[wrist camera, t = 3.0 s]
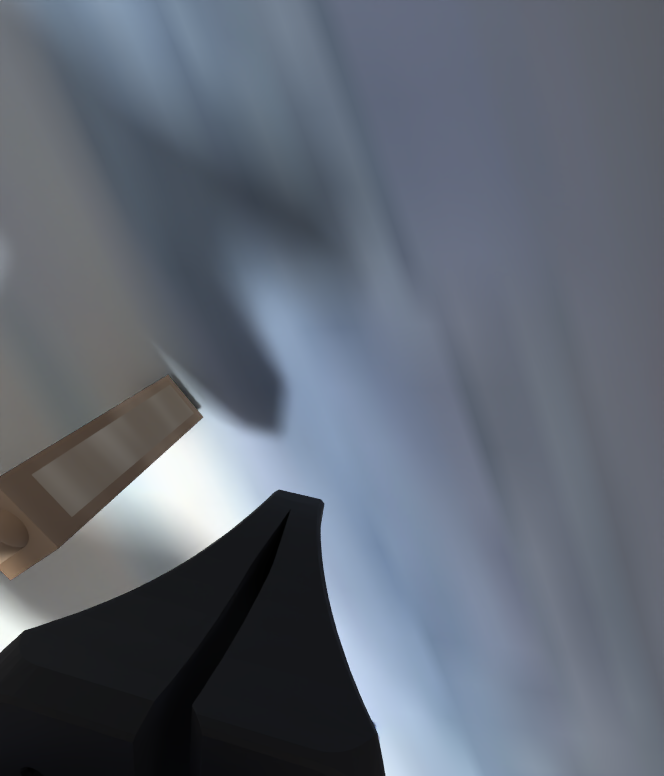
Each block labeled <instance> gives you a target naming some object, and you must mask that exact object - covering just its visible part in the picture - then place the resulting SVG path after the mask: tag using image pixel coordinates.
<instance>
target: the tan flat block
mask: <svg viewBox="0 0 664 776" xmlns="http://www.w3.org/2000/svg"><path fill="white" fill-rule="evenodd" d="M202 418H203V416H202V415H201V414H200V413H199V411H198V410H197V409H196V408H195V407H194V405H193V404H192V403H191V402H190V401H189V399H188V398H187V397H186V396H185V395H184V393H183V392H182V391H181V390H180V388H179V387H178V386H177V385H176V384H175V382H174V381H173V380H172V379H171V378H170V376H169V375H167V376H165V377H164V378H162V379H160V380H159V381H157V382H155V383H154V384H152V385H150V386H149V387H147V388H145V389H144V390H142V391H140V392H139V393H137V394H135V395H134V396H132V397H130V398H129V399H127V400H126V401H124V402H122V403H121V404H119V405H117V406H116V407H114V408H112V409H111V410H109V411H107V412H106V413H104V414H102V415H101V416H99V417H97V418H96V419H94V420H92V421H91V422H89V423H88V424H86V425H84V426H83V427H81V428H79V429H78V430H76V431H74V432H73V433H71V434H69V435H68V436H66V437H64V438H63V439H61V440H59V441H58V442H56V443H54V444H53V445H51V446H50V447H48V448H46V449H45V450H43V451H41V452H40V453H38V454H36V455H35V456H33V457H31V458H30V459H28V460H26V461H25V462H23V463H21V464H20V465H18V466H16V467H15V468H13V469H12V470H10V471H8V472H7V473H5V474H3V475H2V476H0V571H1V572H2V573H3V574H4V575H5V576H6V577H8V578H9V579H10V580H12V579H13V578H15V577H16V576H18V575H19V574H21V573H22V572H24V571H25V570H27V569H28V568H30V567H31V566H33V565H34V564H36V563H37V562H39V561H40V560H42V559H43V558H45V557H46V556H48V555H49V554H51V553H52V552H54V551H55V550H57V549H58V548H60V547H61V546H62V545H63V544H64V543H65V542H66V541H67V540H68V539H69V538H71V537H72V536H73V535H74V534H75V533H76V532H77V531H78V530H79V529H80V528H82V527H83V526H84V525H85V524H86V523H87V522H88V521H89V520H90V519H92V518H93V517H94V516H95V515H96V514H97V513H98V512H99V511H100V510H101V509H103V508H104V507H105V506H106V505H107V504H108V503H109V502H110V501H111V500H112V499H114V498H115V497H116V496H117V495H118V494H119V493H120V492H121V491H122V490H124V489H125V488H126V487H127V486H128V485H129V484H130V483H131V482H132V481H133V480H135V479H136V478H137V477H138V476H139V475H140V474H141V473H142V472H143V471H144V470H146V469H147V468H148V467H149V466H150V465H151V464H152V463H153V462H154V461H156V460H157V459H158V458H159V457H160V456H161V455H162V454H163V453H164V452H165V451H167V450H168V449H169V448H170V447H171V446H172V445H173V444H174V443H175V442H176V441H178V440H179V439H180V438H181V437H182V436H183V435H184V434H185V433H186V432H188V431H189V430H190V429H191V428H192V427H193V426H194V425H195V424H196V423H197V422H199V421H200V420H201V419H202Z"/></svg>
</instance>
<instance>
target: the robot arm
mask: <svg viewBox="0 0 664 776" xmlns="http://www.w3.org/2000/svg"><path fill="white" fill-rule="evenodd" d="M323 509H324V503H323V501H322V500H321V499H317V498H313V497H308V496H304V495H300V494H296V493H291V492H287V491H283V490H277V491H276V492H274V493H273V494H272V495H271V496H270V497H269V498H268V499H267V500H266V501H265V502H264V503H262V504H261V505H260V506H259V507H258V508H257V509H256V510H255V511H253V512H252V513H251V514H250V515H249V516H248V517H246V518H245V519H244V520H243V521H241V522H240V523H239V524H238V525H236V526H235V527H234V528H233V529H232V530H230V531H229V532H228V533H226V534H225V535H224V536H222V537H221V538H219V539H218V540H217V541H215V542H214V543H213V544H211V545H210V546H208V547H207V548H206V549H204V550H203V551H201V552H200V553H198V554H197V555H195V556H194V557H192V558H190V559H189V560H187V561H186V562H184V563H182V564H181V565H179V566H177V567H176V568H174V569H172V570H170V571H169V572H167V573H165V574H163V575H161V576H159V577H157V578H156V579H154V580H152V581H150V582H148V583H146V584H144V585H142V586H140V587H138V588H136V589H134V590H132V591H130V592H127V593H125V594H123V595H121V596H118V597H116V598H114V599H111V600H109V601H107V602H104V603H102V604H99V605H97V606H94V607H92V608H89V609H87V610H84V611H81V612H79V613H76V614H73V615H70V616H67V617H64V618H61V619H58V620H55V621H52V622H49V623H46V624H43V625H40V626H38V627H34V628H31V629H28V630H25V631H23V632H22V633H21V634H20V635H19V636H18V637H17V638H16V639H15V640H14V641H12V642H11V643H10V644H9V645H8V646H7V647H6V648H5V649H4V650H3V651H2V652H1V653H0V776H385V771H384V764H383V759H382V754H381V748H380V743H379V736H378V733H377V731H376V729H375V727H374V725H373V722H372V720H371V718H370V716H369V714H368V712H367V710H366V707H365V705H364V703H363V700H362V698H361V696H360V694H359V691H358V689H357V686H356V684H355V681H354V679H353V676H352V674H351V671H350V668H349V665H348V663H347V660H346V657H345V654H344V651H343V648H342V645H341V642H340V639H339V636H338V633H337V629H336V626H335V622H334V618H333V615H332V611H331V606H330V602H329V598H328V593H327V588H326V582H325V576H324V570H323V562H322V551H321V534H320V532H321V521H322V515H323Z"/></svg>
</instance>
